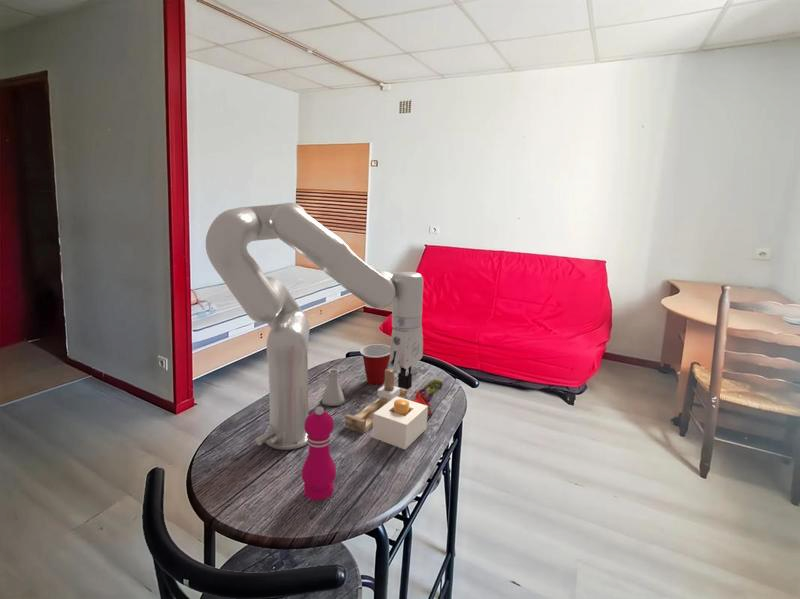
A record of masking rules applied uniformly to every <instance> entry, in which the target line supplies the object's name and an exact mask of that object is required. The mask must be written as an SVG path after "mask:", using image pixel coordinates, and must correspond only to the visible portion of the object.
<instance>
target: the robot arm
mask: <svg viewBox="0 0 800 599" xmlns="http://www.w3.org/2000/svg"><path fill="white" fill-rule="evenodd" d="M276 239H279V240H280V241H282V242H283V243H284V244H286V245H287V246H289V247H290V248H291V249H293V250H294V251H296V252H297V253H298V254H300V255H302V256H303V257H304V258H306V260H308V261H310V262H311V263H312V264H314V265H316V266H317V267H318V268H319V269H321V270H322V271H323V272H324V273H325V274H327V276H329V277H330V278H332V279H333V280H334V281H336V283H337V284H339V285H340V286H341V287H343V288H344V289H345V290H346V291H347V292H349V293H350V294H351V295H353V296H355V297H356V298H357V299H359V300H360V301H362V302H364V304H365V305H368V306H370V307H371V308H373V309H374V308H375V309H385V308H387V307H389V306H390V305H392V306H391V307H392V308H391V309H392V310H391V312H392V313H391V327H392V332H391V337H390V345H389V346H390V359H389V363H390V365H391V366H393V367H392V369H393V372H395V374H397V375H398V376H397V377H398V378H397V387H400V388H403V389H407V391H408V390H409V389H410V388H412V383H413V382H412V380H413V372H414V365H415V364H416V363H418V362H419V361H420V360H421V359H422V358H423V354H424V347H423V346H424V335H423V326H422V321H423V319H422V318H423V300H424V298H423V296H424V295H423V294H424V277H423V276H422V274H421V273H419V272H415V271H399V272H396V271H395V272H394V271H385V270H379V269H374V268H372V267H371V266H370V265H368V264H367V263H366V262H365V261H364V260H362V259H361V258H360V256H357V254H356V253H355V252H354V251H353V250H352V249H351V248H350V246H349V245H348V244H347V243H346V242H345V241H344V240H343V239H342V238H341V237H339V236H338V235H336V234H335V233H334V232H332V231H331V230H329V229H328V228H326V227H325V226H324V225H323V224H321V223H320V222H318V221H317V220H316V219H315V218H313V217H312V216H311V215H309V214H308V213H307V211H306V210H305V208H303V207H302V206H301V205H300V204H297V203H295V202H285V203H284V202H283V203H277V204H266V205H264V204H263V205H256V206H255V205H254V206H242V207H236V208H231V209H227V210H224V211H222V212H221V213H220V214H218V215H217V216H216V217H215V218H214V220H213V221H212V222H211V223H210V225H209V228H208V230H207V233H206V237H205V251H206V255H207V257H208V259H209V262H210V264H211V265H212V267H213V268H214V269H215V271H216V273H217V274H218V275H219V277H220V278H221V279H222V281H223V282H224V283H225V285H226V286H227V288H228V290H229V291H230V292H231V294H232V295H233V297H234V298H235V299H236V300H237V303H239V304H240V307H241V308H242V309H243V310H244V312H245V314H246V315H247V316H248V317H249V318H250V319H251V320H252V321H254V322H256V323H259V324H267V326H269V328H270V329H269V331H268V335H267V339H266V357H267V365H268V386H269V388H268V389H269V391H268V392H269V394H268V396H269V424H268V425H266V426H267V427H266V430H265V431H264V433H263V434H262V435H259V436H258V437H256V438H255V443H256V444H257V445H258V446H261V445H263V444H266V445H267V446H269V447H271V448H273V449H277V450H285V451H286V450H289V451H290V450H295V449H299V448H302V447H304V446H306V445H307V444H308V443H307V435H308V434H307V433H306V431H305V427H304V426H305V421H306V419H307V417H308V416H309V404H308V403H309V394H308V393H309V372H308V370H309V368H308V366H309V362H308V356H309V355H308V354H309V353H308V350H309V340H310V339H309V338H310V330H311V328H310V323H309V320H308V318H307V316H306V314H305V312H304V311H303V310H302V309H301V307H300V305H299V304H298V302H297V301H296V300H295V298H294V296H293V295H292V294H291V293H290V291H289V289H288V287H286V286H285V284H284V283H283V282H281V281H280V280H279V279H278V278H275V277H272V276H266V275H265V273H264V271H263V270H262V269H261V267H260V265H259V264H258V263H257V261H256V260H255V259H254V258H253V257H252V255H251V254H250V252H249V251H248V245H249V244H250V243H251V242H256V241H264V240H265V241H266V240H276ZM239 304H238V305H239ZM308 445H309V444H308Z"/></svg>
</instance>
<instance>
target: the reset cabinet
mask: <svg viewBox="0 0 800 599" xmlns="http://www.w3.org/2000/svg"><path fill="white" fill-rule="evenodd" d="M399 399H403V400H407V401H408V402H409V413H408V414H407V415H406V416H402V415H399V414H396V413H394V402H395V401H396V400H399ZM428 411H429V405H428V406H426V405H423V404H420V403H417V402H413V401H411V400H410V399H407V398H406V399H404V398H401V397H397V396H396V397H395V398H393V399H392V400H391V401H389V402H388V403H387V404H385V405H384V406H383V407H381V408H380V409H379V410H377V411H376V412H375V413H373V426H372V434H371V435H372V438H373V439H375V440H379V441H381V442H384V443H387V444H389V445H391V446H395V447H397V448H399V449H402V450H406V449H407V448H409V447H410V446H411V444H413V442H415V441H416V440H417V439H418V438H419V437H420V436H421V435H422V434H424V433H423V432H425V431H426V430H427V425H428V424H427V423H428Z"/></svg>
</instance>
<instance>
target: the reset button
mask: <svg viewBox="0 0 800 599" xmlns="http://www.w3.org/2000/svg"><path fill="white" fill-rule="evenodd" d="M407 400H408V399H407ZM407 400H403V399H399V400H396V401H395V402H394V413H396V414H399V415H402V416H406V415H407V414H408V413H409V402H408V401H407Z"/></svg>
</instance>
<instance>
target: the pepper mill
mask: <svg viewBox="0 0 800 599" xmlns="http://www.w3.org/2000/svg"><path fill="white" fill-rule="evenodd" d="M334 421H335V420H334V418H333V417H332V416H331V414H329V413H328V412H326V411H325V410H324V407H322V406H321V405H320V406H317V407H315V409H314V412H312V413H310V414H308V417H307V419H306V421H305V426H304V427H305V431H306V433H307V434H308V435H307V443H308V448H309V449H308V455H307V457H306V460H305V461H304V464H303V466H302V471H301V479H302V481H303V483H304V484H303V493H304V495H305V497H306V498H307V499H309V500H312V501H323V500H326V499H328V498H329V497H331V496H332V495H333V493H334V490H335V489H334V484H335V483H334V481H335V479H336V477H337V476H336V475H337V468H336V465H335V461H334V460H333V457H332V455H331V453H330V444H331V442H332V433H333V431H334V428H335V423H334Z"/></svg>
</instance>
